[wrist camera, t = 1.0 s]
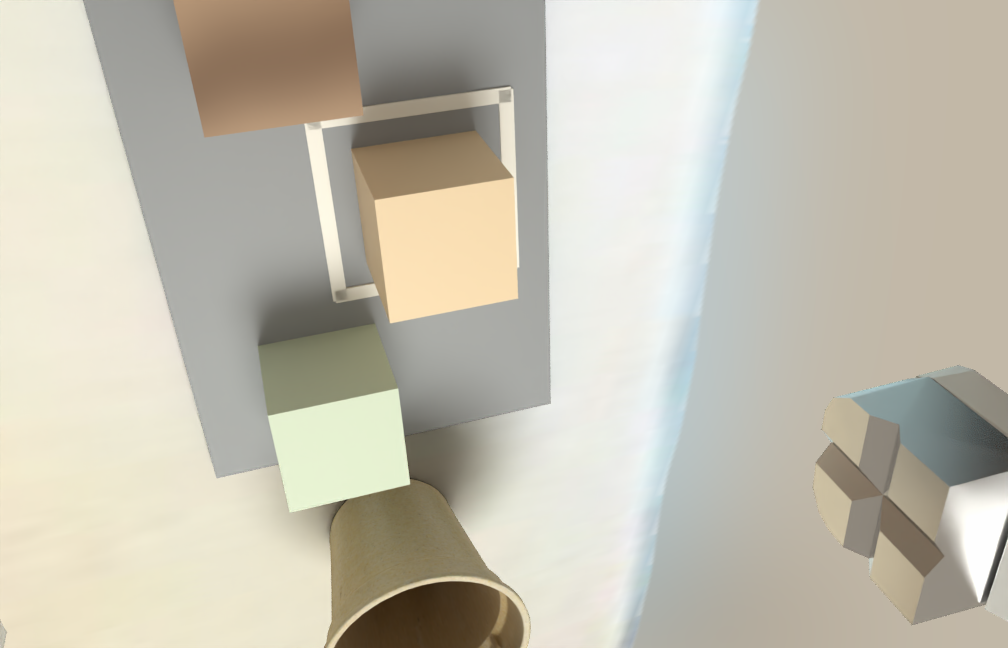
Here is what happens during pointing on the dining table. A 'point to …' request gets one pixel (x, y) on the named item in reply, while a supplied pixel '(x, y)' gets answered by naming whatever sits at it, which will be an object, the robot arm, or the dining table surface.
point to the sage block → (334, 416)
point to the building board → (352, 213)
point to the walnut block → (269, 62)
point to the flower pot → (415, 578)
